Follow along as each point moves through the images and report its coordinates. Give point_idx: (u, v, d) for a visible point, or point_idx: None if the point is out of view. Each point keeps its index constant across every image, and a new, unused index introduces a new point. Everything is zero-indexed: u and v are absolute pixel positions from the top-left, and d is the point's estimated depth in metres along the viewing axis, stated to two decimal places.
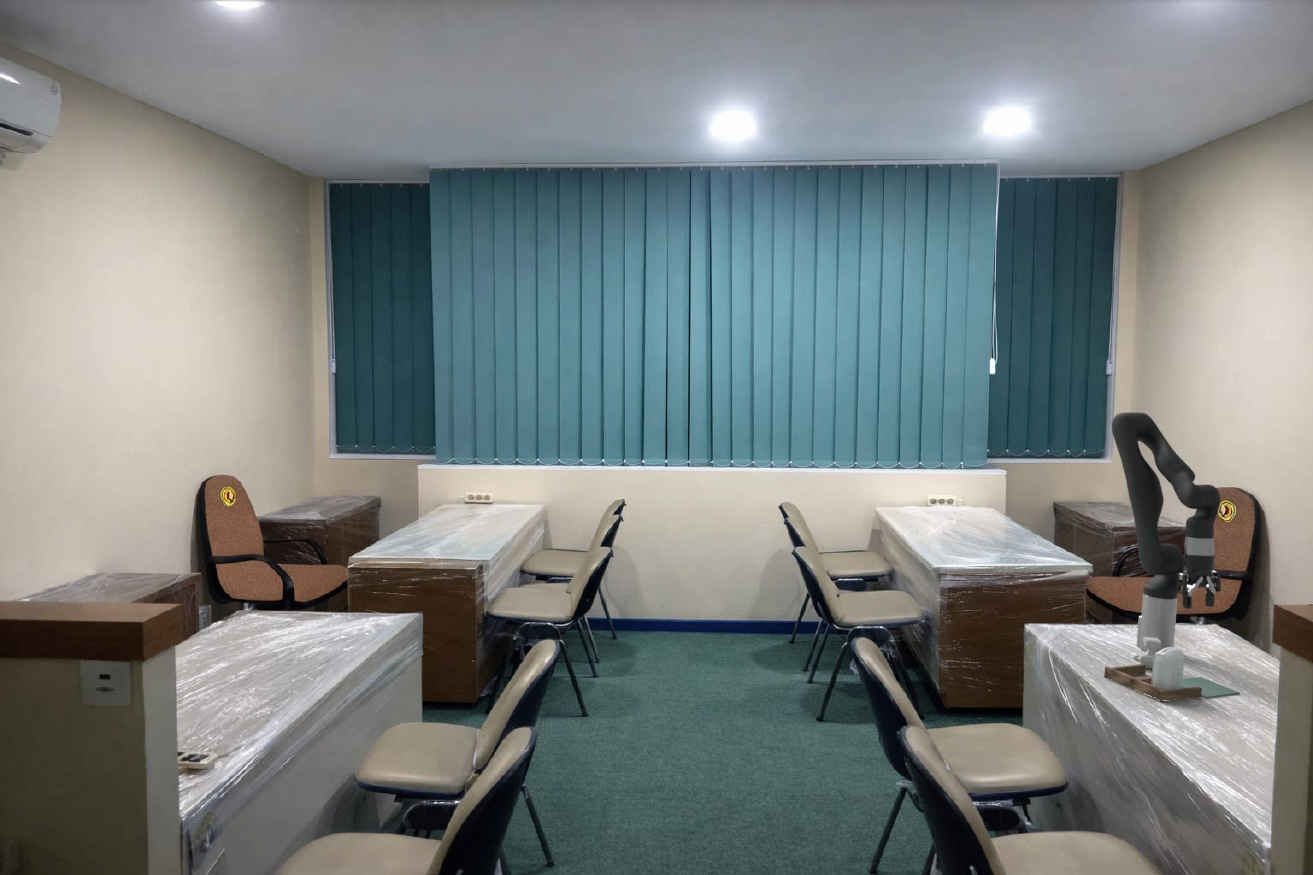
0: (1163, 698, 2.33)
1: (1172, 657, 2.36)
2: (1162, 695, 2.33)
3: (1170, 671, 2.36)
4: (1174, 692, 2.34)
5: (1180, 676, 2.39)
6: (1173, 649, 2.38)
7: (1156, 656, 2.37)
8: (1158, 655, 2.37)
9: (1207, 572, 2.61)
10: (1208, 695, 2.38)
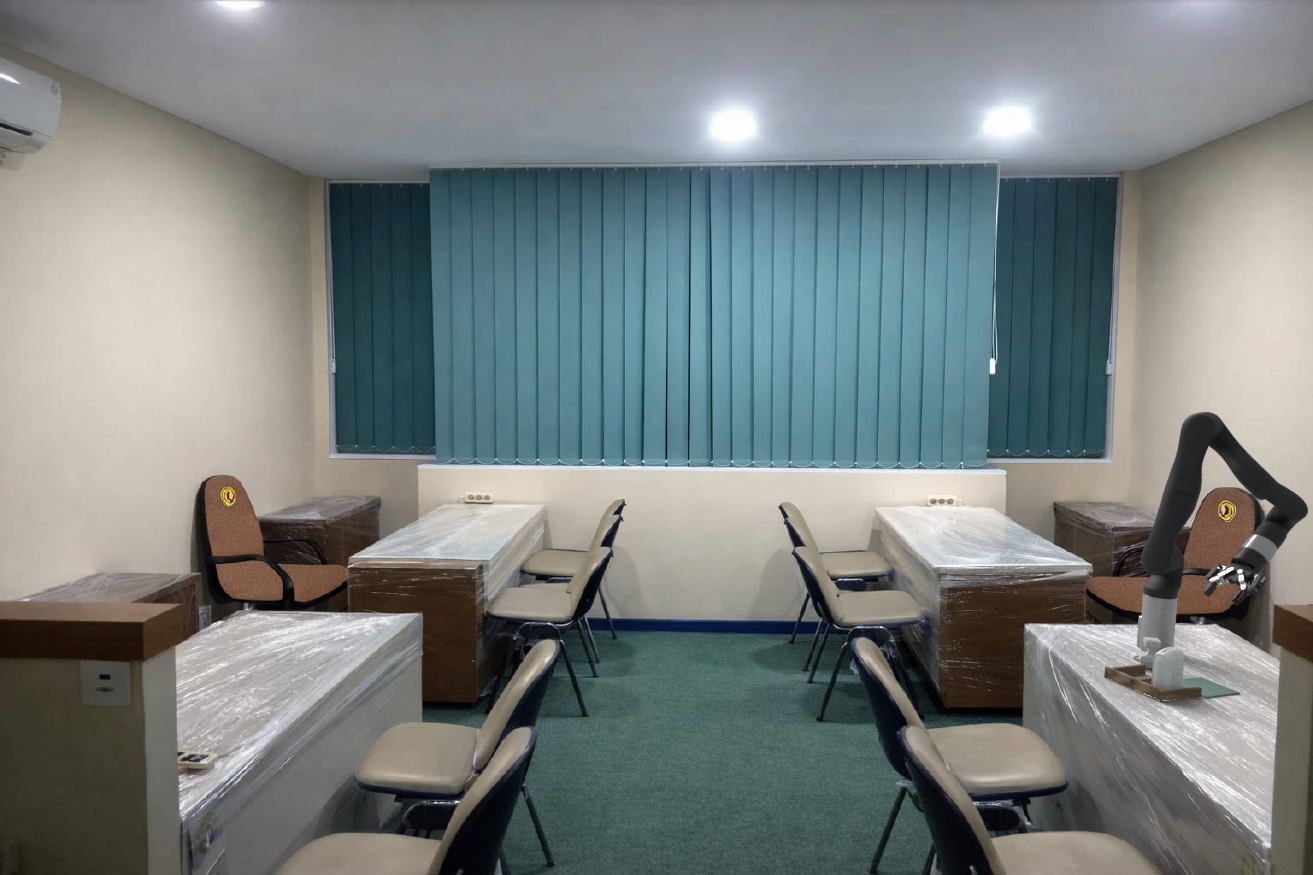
0: (1163, 698, 2.33)
1: (1172, 657, 2.36)
2: (1162, 695, 2.33)
3: (1170, 671, 2.36)
4: (1174, 692, 2.34)
5: (1180, 676, 2.39)
6: (1173, 649, 2.38)
7: (1156, 656, 2.37)
8: (1158, 655, 2.37)
9: None
10: (1208, 695, 2.38)
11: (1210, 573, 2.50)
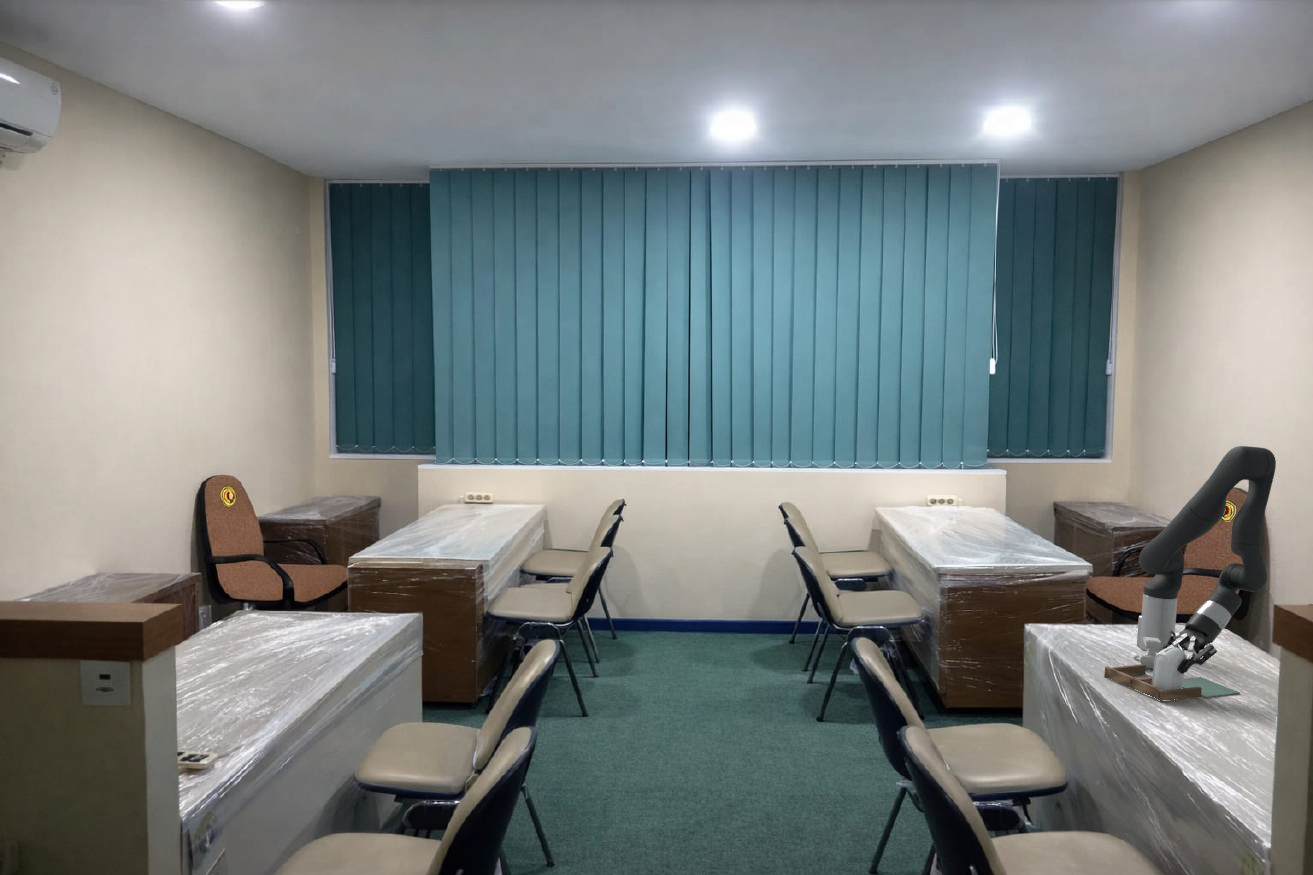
0: (1163, 698, 2.33)
1: (1173, 657, 2.36)
2: (1162, 695, 2.33)
3: (1171, 672, 2.36)
4: (1174, 692, 2.34)
5: (1181, 676, 2.39)
6: (1175, 649, 2.38)
7: (1158, 656, 2.37)
8: (1160, 655, 2.37)
9: None
10: (1208, 695, 2.38)
11: (1166, 641, 2.46)
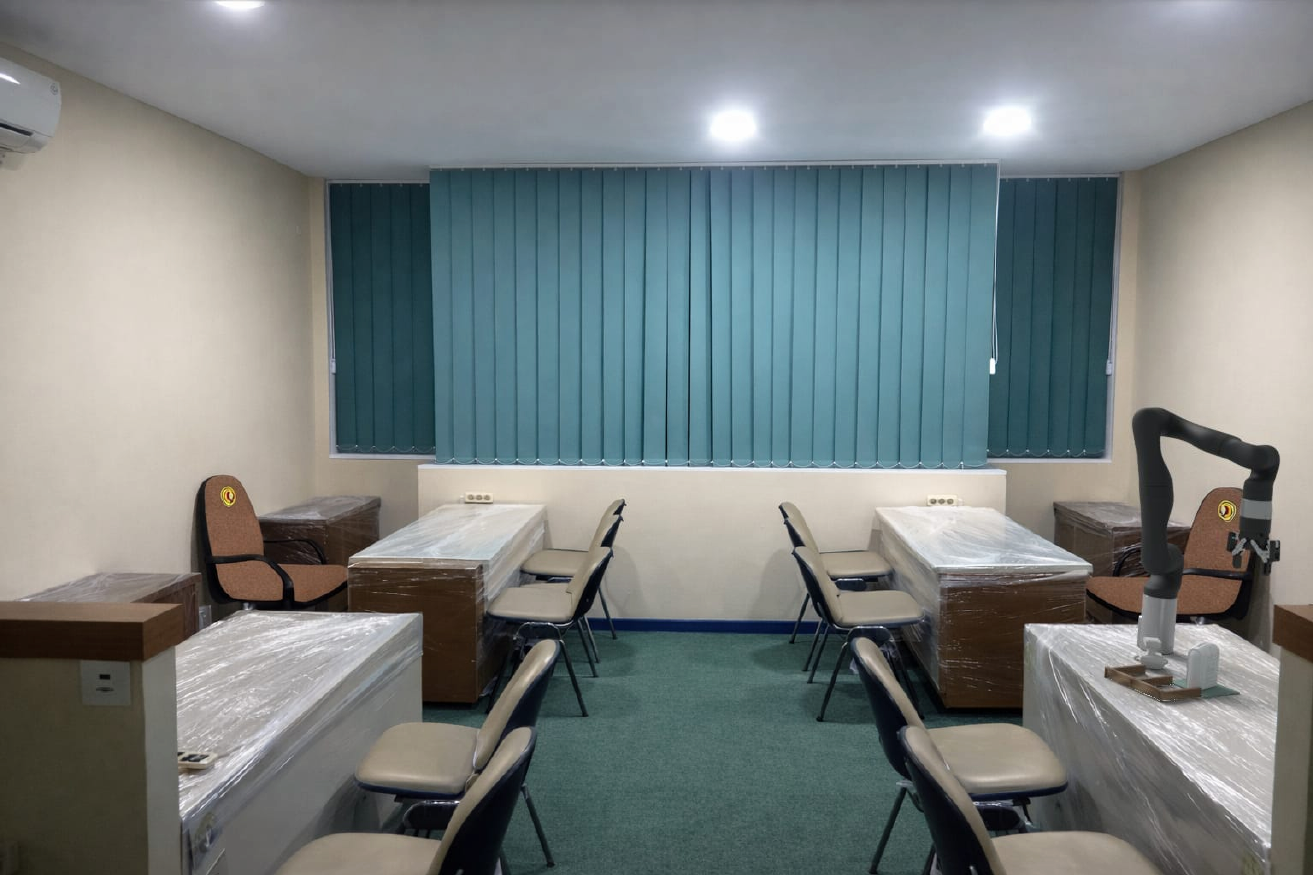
0: (1163, 698, 2.33)
1: (1207, 651, 2.40)
2: (1162, 695, 2.33)
3: (1205, 666, 2.40)
4: (1174, 692, 2.34)
5: (1215, 671, 2.43)
6: (1208, 644, 2.42)
7: (1191, 650, 2.41)
8: (1193, 649, 2.41)
9: None
10: (1208, 695, 2.38)
11: (1229, 545, 2.57)
